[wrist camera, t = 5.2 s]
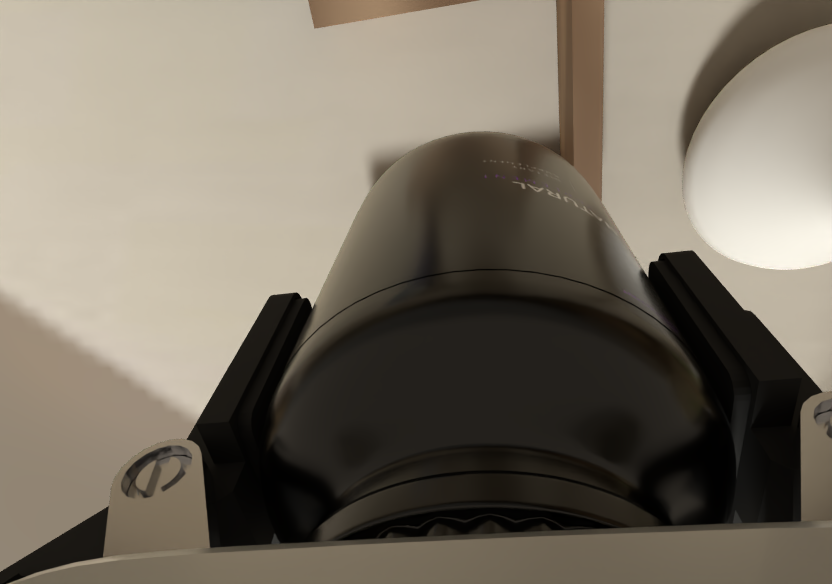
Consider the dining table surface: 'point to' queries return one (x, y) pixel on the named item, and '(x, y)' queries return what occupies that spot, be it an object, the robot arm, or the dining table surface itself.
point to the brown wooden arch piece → (576, 68)
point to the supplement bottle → (490, 367)
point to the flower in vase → (768, 159)
